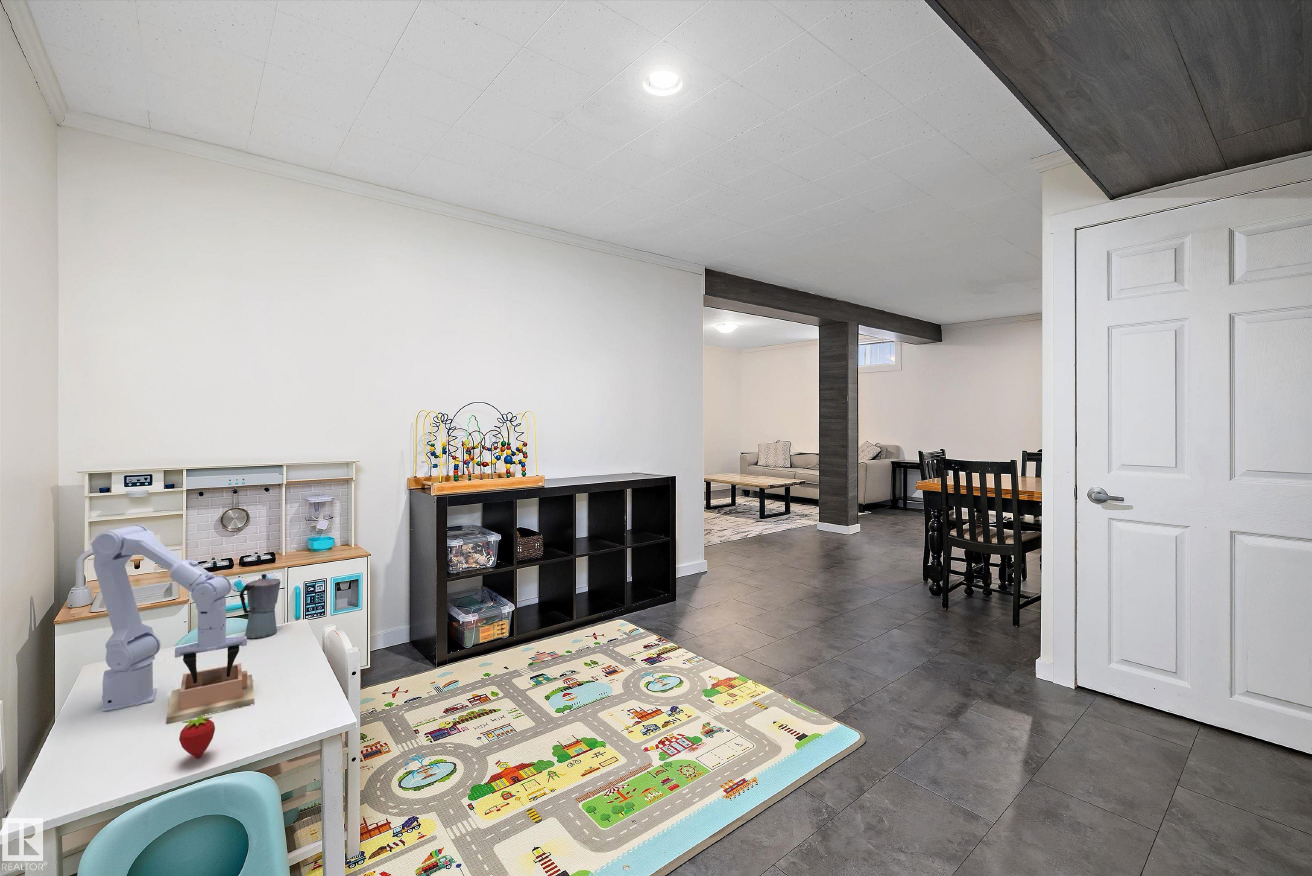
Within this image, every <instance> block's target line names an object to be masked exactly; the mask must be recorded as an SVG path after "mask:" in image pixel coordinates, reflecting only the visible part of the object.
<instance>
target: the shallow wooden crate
mask: <svg viewBox="0 0 1312 876" xmlns="http://www.w3.org/2000/svg"><path fill="white" fill-rule="evenodd" d="M217 670H222V683H217V684H212V685H207V686H202V675H203V673H207V672H212V671H217ZM247 675H248V670H242V663H241V662H240V663H239V662H238V663H236V664H234V663H233V665H232V668H231V672H230V677H227V665H225V666H219V667H215V668H214V667H213V668H210V669H204V670H197V683H193V678H192V675H191V673H190V672H189V673H188V672H187V673H183V674H182V678H181V683H180V684H181V685H180V688H179V689H180V711H181V710H186V709H190V708H195V707H199V706H204V705H209V704H213V703H218V702H222V701H227V700H231V699H236V698H241V697H242V688H243V687H247ZM234 679H235V680H234ZM229 680H232V681H229ZM225 681H227V682H225ZM200 686H202V687H200ZM195 687H197V688H195ZM190 688H192V689H190Z"/></svg>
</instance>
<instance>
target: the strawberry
mask: <svg viewBox="0 0 1312 876" xmlns="http://www.w3.org/2000/svg"><path fill="white" fill-rule="evenodd" d="M194 713H195V712H194ZM195 714H197V713H195ZM197 715H198V714H197ZM196 718H197V719H187V720H182V721H181V723H183V724H185V723H186V725H185V726H184V727H183V728H182V730H181V731H180V733H179V738H178V740H179V743H180V746H181V748H182V749H183V750H184V751H186V753H188V754H189V755H191V756H193V757H194V759H201V757H202V756H203V755H204V754H205V752H206V750H207V749H208V747H209V746H210V744H211V742H212V740H213V738H214V735H215V731H216V725H215V723H214V721H213V720H211V719H212V718H213V716H210V717H207V716H206V717H205V715H202V716H200V717H196ZM187 723H188V724H187Z"/></svg>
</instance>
